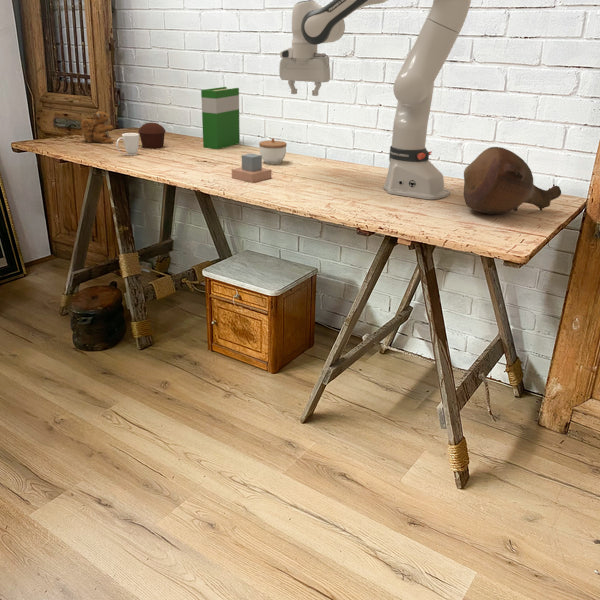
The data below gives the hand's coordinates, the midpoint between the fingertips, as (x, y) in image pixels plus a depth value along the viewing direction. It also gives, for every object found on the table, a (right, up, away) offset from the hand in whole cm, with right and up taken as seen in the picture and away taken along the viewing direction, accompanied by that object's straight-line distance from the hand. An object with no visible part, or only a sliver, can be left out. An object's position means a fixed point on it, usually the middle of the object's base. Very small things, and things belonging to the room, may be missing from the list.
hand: (304, 94), depth 220 cm
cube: (-19, -26, +1) cm, 32 cm away
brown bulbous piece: (+61, -46, -30) cm, 82 cm away
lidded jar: (-12, -18, +27) cm, 35 cm away
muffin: (-66, -6, +51) cm, 83 cm away
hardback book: (-37, -4, +58) cm, 68 cm away
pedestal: (-19, -29, +2) cm, 35 cm away
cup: (-72, -13, +34) cm, 80 cm away
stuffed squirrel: (-92, -2, +58) cm, 109 cm away
